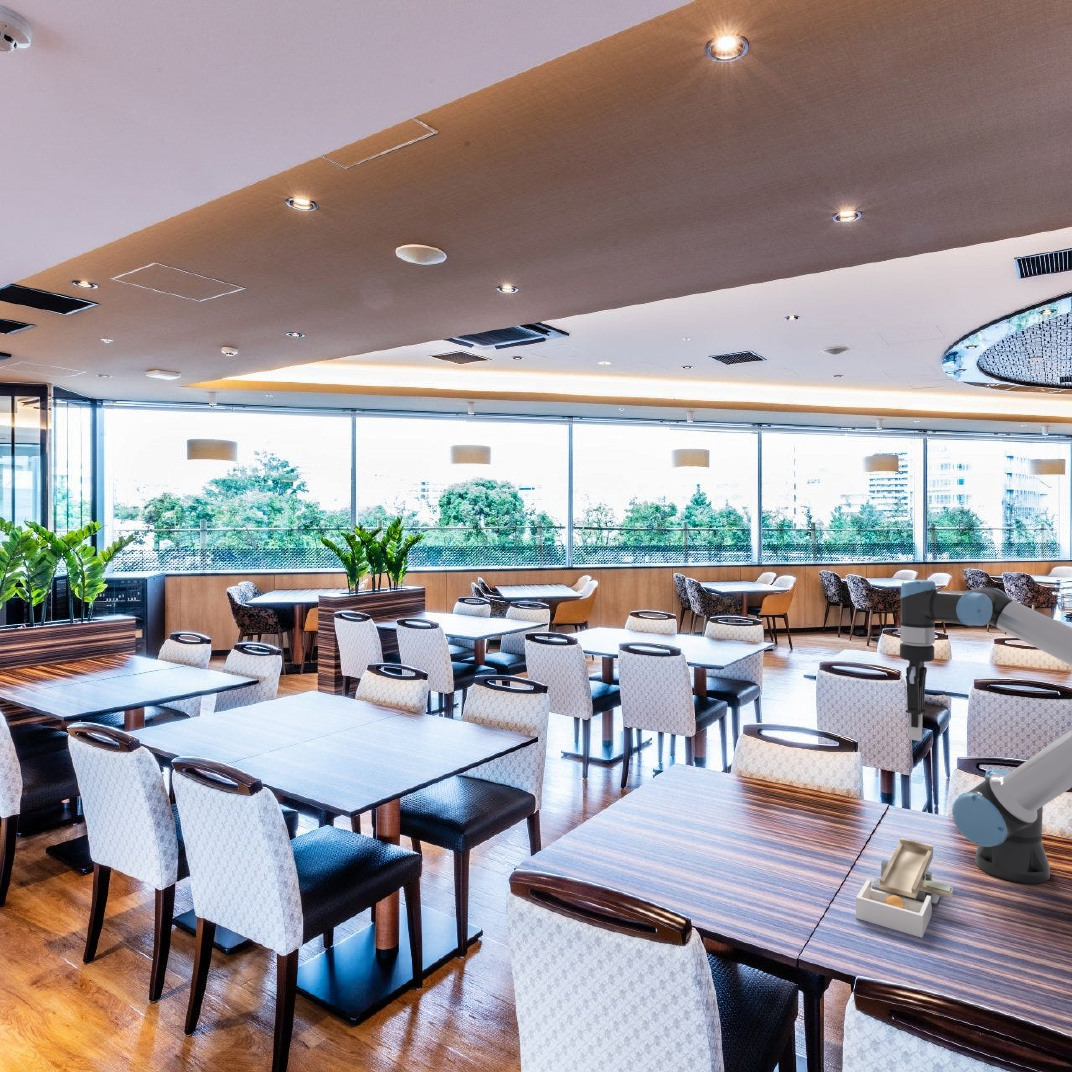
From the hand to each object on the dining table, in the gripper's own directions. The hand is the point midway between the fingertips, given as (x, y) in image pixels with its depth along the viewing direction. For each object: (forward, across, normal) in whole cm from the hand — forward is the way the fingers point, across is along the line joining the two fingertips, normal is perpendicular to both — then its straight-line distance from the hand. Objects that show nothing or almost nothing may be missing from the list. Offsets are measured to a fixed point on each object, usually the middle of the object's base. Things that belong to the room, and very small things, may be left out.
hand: (915, 739), depth 187 cm
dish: (+29, +32, +2) cm, 44 cm away
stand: (+29, +20, +2) cm, 36 cm away
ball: (+27, +31, +2) cm, 42 cm away
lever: (+25, +18, +5) cm, 32 cm away
